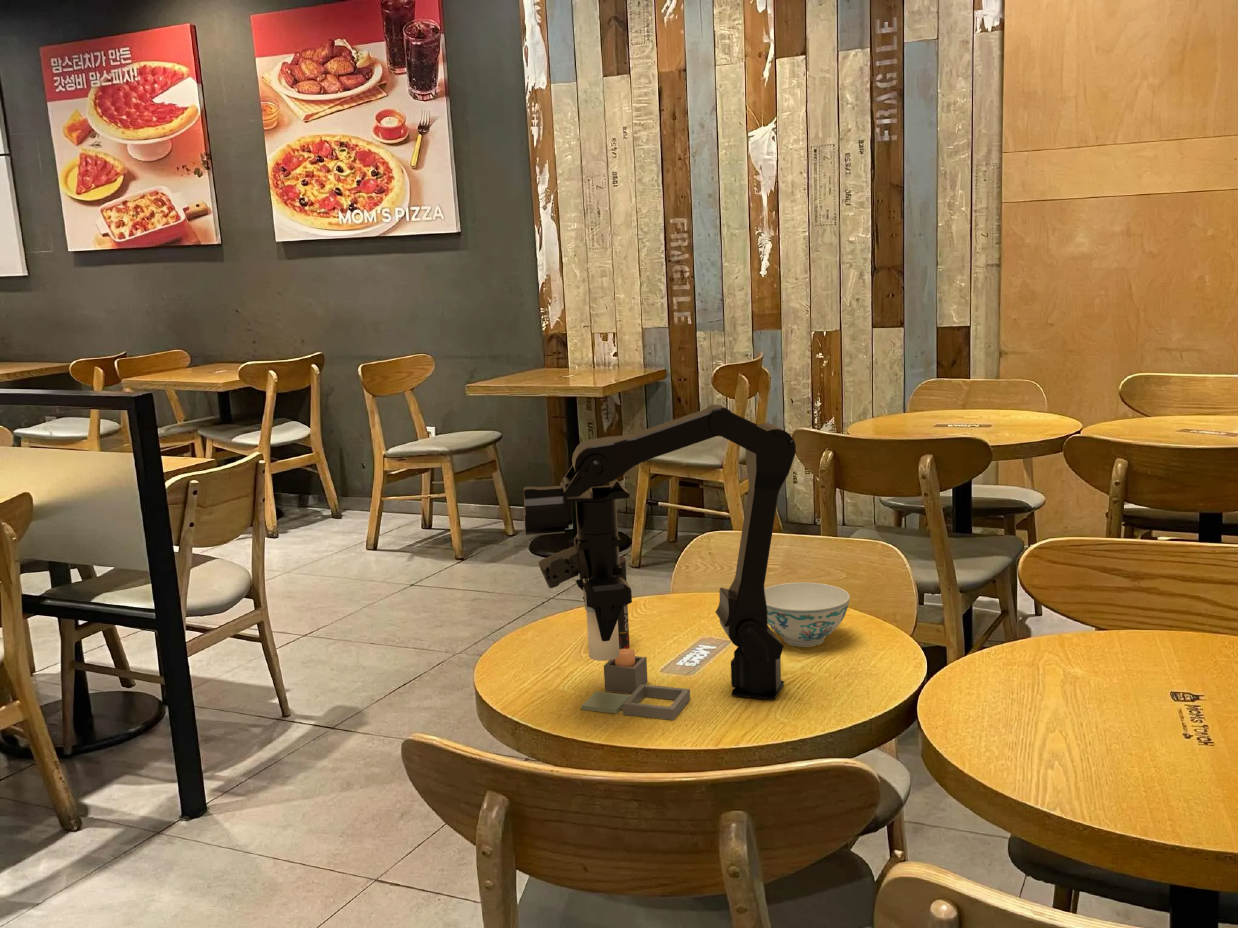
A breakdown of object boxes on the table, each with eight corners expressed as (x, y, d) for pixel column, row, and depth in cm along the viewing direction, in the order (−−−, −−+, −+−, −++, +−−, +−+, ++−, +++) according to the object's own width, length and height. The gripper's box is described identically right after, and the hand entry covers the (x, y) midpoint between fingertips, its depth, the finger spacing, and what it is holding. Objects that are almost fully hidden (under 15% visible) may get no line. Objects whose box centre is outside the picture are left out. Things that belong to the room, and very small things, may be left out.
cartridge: (607, 646, 162) (604, 594, 160) (627, 654, 158) (624, 601, 157) (581, 655, 159) (577, 602, 158) (601, 663, 155) (598, 609, 154)
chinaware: (756, 655, 177) (755, 609, 175) (760, 624, 191) (759, 582, 190) (851, 656, 174) (851, 610, 173) (848, 625, 189) (847, 582, 187)
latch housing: (647, 681, 168) (646, 657, 167) (636, 694, 163) (635, 668, 162) (617, 678, 169) (615, 654, 169) (604, 691, 165) (603, 665, 164)
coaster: (630, 698, 162) (630, 694, 161) (616, 713, 157) (616, 709, 156) (595, 695, 164) (595, 691, 163) (581, 709, 158) (581, 705, 158)
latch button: (638, 674, 167) (637, 649, 166) (631, 681, 164) (630, 656, 163) (620, 672, 168) (619, 647, 167) (613, 679, 165) (611, 654, 164)
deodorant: (629, 652, 180) (625, 564, 178) (593, 654, 181) (588, 565, 178) (629, 640, 186) (625, 554, 184) (594, 641, 186) (590, 556, 184)
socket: (690, 699, 160) (689, 688, 160) (673, 720, 153) (673, 709, 153) (641, 694, 163) (640, 683, 163) (623, 714, 156) (622, 703, 156)
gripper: (535, 520, 163) (542, 620, 166) (546, 551, 145) (553, 663, 148) (609, 513, 165) (614, 613, 168) (629, 544, 147) (635, 655, 149)
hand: (603, 635), depth 158 cm, fingers closed on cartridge, 4 cm apart
